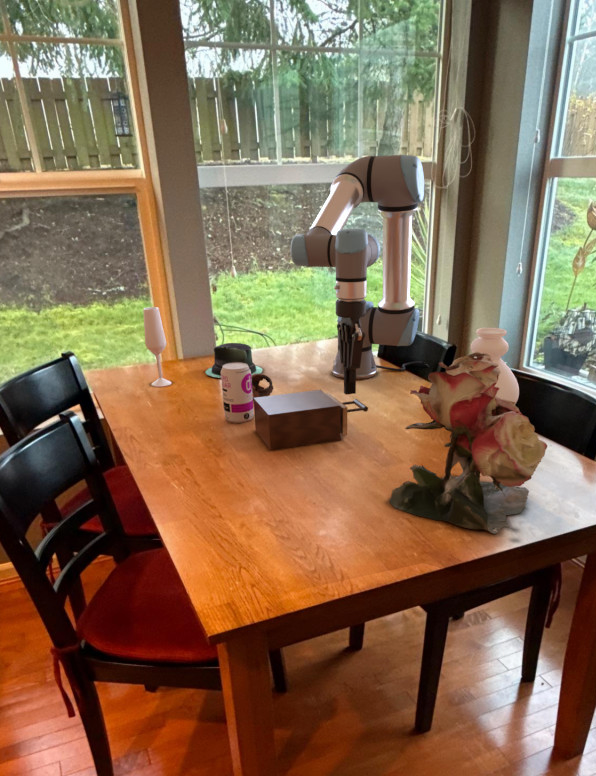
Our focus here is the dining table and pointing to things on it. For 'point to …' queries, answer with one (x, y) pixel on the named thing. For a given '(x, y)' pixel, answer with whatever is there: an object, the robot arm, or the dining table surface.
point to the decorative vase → (497, 360)
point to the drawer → (344, 411)
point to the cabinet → (297, 419)
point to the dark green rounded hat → (232, 358)
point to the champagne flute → (155, 339)
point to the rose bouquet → (473, 449)
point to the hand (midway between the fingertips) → (349, 393)
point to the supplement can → (237, 392)
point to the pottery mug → (259, 390)
